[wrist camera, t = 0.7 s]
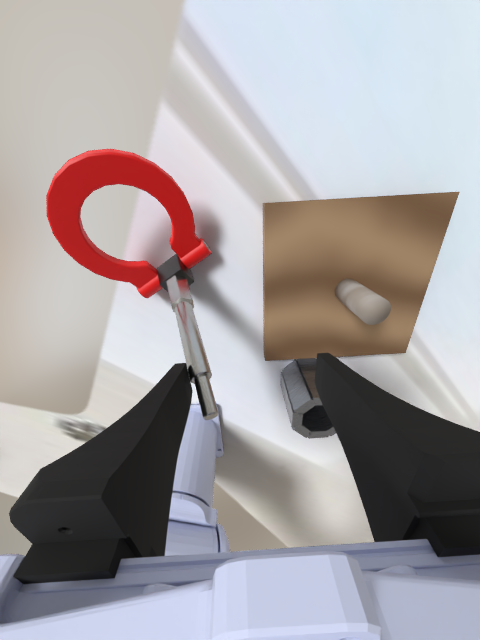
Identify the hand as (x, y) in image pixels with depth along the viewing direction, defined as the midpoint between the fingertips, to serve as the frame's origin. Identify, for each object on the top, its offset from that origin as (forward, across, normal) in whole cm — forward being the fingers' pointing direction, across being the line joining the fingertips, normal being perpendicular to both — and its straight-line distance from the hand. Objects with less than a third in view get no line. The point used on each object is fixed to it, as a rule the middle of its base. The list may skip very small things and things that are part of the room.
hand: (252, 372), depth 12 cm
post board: (+10, -9, -1) cm, 13 cm away
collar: (+10, -6, +9) cm, 15 cm away
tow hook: (+7, +7, -8) cm, 13 cm away
